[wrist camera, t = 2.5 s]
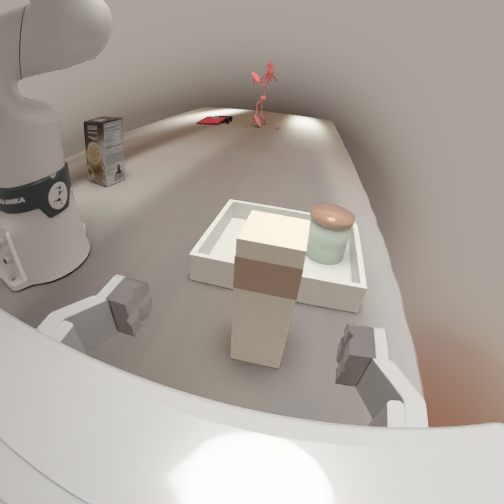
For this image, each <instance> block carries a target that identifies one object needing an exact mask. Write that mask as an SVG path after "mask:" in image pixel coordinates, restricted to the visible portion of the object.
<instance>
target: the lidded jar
mask: <svg viewBox="0 0 504 504" xmlns="http://www.w3.org/2000/svg"><path fill="white" fill-rule="evenodd" d="M310 216H311V221H310V228H309V235H308V243H307V251H306V255H307V256H308V257H309V258H310V259H311V260H313V261H315V262H317V263H320V264H325V265H334V264H338V263H340V262H341V261H342V259H343V256H344V252H345V249H346V245H347V242H348V238H349V234H350V230H351V227H352V226H353V224H354V220H355V217H354V215H353V214H352V213H351V212H350V211H348V210H347V209H345V208H343V207H340V206H337V205H332V204H317V205H314V206H313V207H312V208H311V213H310Z"/></svg>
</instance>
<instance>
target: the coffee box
mask: <svg viewBox="0 0 504 504" xmlns="http://www.w3.org/2000/svg"><path fill="white" fill-rule="evenodd" d="M84 133H85V145H86V157H87V167H88V175H89V181H91V182H94V183H97V184H100V185H103V186H106V187H109V186H111V185H113V184H116V183H118V182H120V181H123V180H125V167H124V151H123V125H122V118H117V117H99V118H96V119H92V120H88V121H85V122H84Z"/></svg>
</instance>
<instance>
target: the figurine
mask: <svg viewBox="0 0 504 504" xmlns="http://www.w3.org/2000/svg"><path fill="white" fill-rule="evenodd" d="M272 66H273V63H272V61H271V63H268V65H267V71H266V73H265V74H264V76H265V78H264V80H265V79H266V78H267V83H268V84H269V80H270V81H272V76H273V78H274V79H275V80H276V78H275V77H274V75H273V71H274V66H273V67H272ZM264 76H263V77H264ZM252 77H253V80H254V84H256V83H259V82H260V83H261V84H262V85H263V86H264V87H265V85H264V84H263V82H264V80H263V82H262V81H261V80H262V79H261V80H260V78H259V76H258V75H257V74H256V73H255V72H252ZM263 77H262V78H263ZM255 80H256V81H257V82H256V83H255ZM265 89H266V87H265V88H264V95H265ZM260 99H261V101H262V102H263V101H265V99H266V97H265V96H261V98H260ZM261 105H262V103H261ZM261 107H262V106H261ZM260 115H261V116H260V117H262V119H263V121H264V122H265V120H264V118H263V116H262V114H261V113H260ZM254 117H255V118H254V120H255V121H256V123H257V124H258V126H259V127H261V123H260V120H259V119H260V117H259V118H258V117H257V106H256V115H254ZM254 120H253V121H254ZM253 121H252V123H253ZM252 123H251V124H250V126H251V125H252ZM265 124H266V122H265ZM277 126H278V125H277ZM245 127H246V126H245ZM279 127H280V126H279ZM278 129H279V128H278Z"/></svg>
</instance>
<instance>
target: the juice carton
mask: <svg viewBox="0 0 504 504" xmlns="http://www.w3.org/2000/svg"><path fill="white" fill-rule="evenodd" d="M309 228H310V220H306V219H300V218H295V217H289V216H284V215H278V214H272V213H267V212H261V211H255V210H252V211H251V213H250V215H249V217H248V219H247V220H246V222H245V224H244V226H243V228H242V229H241V231H240V233H239V235H238V237H237V239H236V255H235V260H234V279H233V287H234V294H233V314H232V335H231V357H230V358H233V359H237V360H241V361H246V362H250V363H254V364H259V365H264V366H268V367H273V368H278V369H279V367H280V363H281V359H282V355H283V351H284V347H285V343H286V339H287V335H288V331H289V327H290V323H291V318H292V314H293V310H294V306H295V301H296V300H297V296H298V291H299V287H300V282H301V278H302V273H303V268H304V261H305V256H306V251H307V243H308V235H309Z"/></svg>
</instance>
